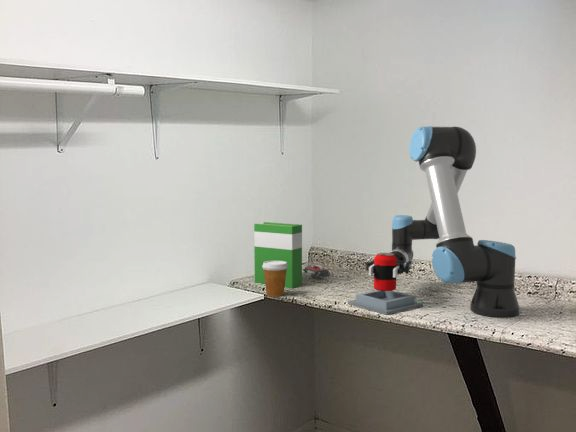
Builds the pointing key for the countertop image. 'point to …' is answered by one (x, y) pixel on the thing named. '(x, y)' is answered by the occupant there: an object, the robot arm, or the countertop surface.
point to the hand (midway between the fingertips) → (381, 272)
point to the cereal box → (279, 250)
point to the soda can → (384, 271)
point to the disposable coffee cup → (275, 277)
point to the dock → (385, 302)
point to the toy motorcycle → (316, 271)
